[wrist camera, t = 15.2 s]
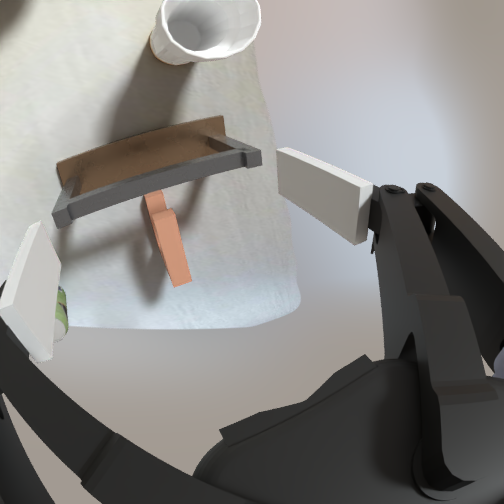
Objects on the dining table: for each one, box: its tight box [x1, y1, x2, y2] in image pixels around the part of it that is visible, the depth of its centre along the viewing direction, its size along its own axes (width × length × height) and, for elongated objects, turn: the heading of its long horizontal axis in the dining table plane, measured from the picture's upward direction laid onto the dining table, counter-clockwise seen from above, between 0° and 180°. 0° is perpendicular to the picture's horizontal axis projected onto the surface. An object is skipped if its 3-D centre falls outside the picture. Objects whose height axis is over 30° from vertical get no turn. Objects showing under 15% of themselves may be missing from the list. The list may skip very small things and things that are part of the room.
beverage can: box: [53, 285, 68, 342], centre depth 42 cm, size 6×7×12 cm
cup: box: [150, 0, 261, 65], centre depth 30 cm, size 11×11×17 cm
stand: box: [52, 115, 262, 229], centre depth 38 cm, size 28×8×16 cm, turn 98°
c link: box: [144, 190, 192, 287], centre depth 46 cm, size 3×12×12 cm, turn 8°
